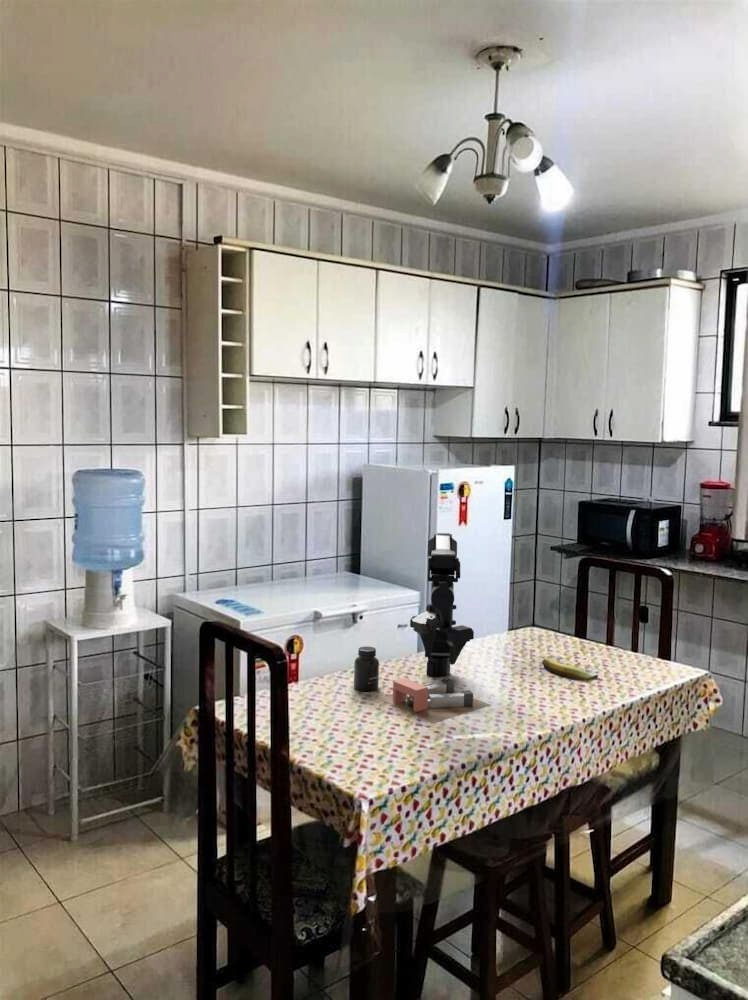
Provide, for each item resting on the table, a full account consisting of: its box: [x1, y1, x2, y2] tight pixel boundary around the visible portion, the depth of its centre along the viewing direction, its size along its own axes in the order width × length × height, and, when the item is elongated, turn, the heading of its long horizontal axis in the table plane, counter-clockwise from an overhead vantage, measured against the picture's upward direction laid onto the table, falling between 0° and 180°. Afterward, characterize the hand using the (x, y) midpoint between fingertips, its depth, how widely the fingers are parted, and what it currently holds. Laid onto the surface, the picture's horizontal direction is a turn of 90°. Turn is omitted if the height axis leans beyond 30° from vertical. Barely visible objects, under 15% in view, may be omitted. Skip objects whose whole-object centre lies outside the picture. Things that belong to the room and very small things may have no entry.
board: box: [376, 682, 491, 724], centre depth 221 cm, size 21×22×1 cm
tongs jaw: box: [428, 689, 474, 708], centre depth 217 cm, size 15×3×3 cm, turn 100°
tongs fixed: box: [407, 677, 455, 707], centre depth 222 cm, size 16×4×4 cm, turn 130°
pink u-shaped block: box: [392, 677, 428, 712], centre depth 216 cm, size 4×9×6 cm, turn 40°
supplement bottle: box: [353, 646, 380, 693], centre depth 230 cm, size 7×7×12 cm
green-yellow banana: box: [541, 658, 599, 691], centre depth 249 cm, size 35×27×4 cm
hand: (440, 660), depth 216 cm, fingers open, 9 cm apart
